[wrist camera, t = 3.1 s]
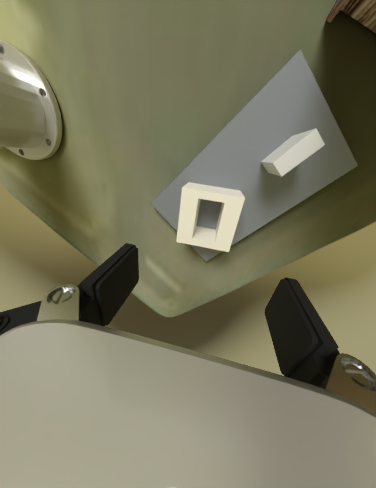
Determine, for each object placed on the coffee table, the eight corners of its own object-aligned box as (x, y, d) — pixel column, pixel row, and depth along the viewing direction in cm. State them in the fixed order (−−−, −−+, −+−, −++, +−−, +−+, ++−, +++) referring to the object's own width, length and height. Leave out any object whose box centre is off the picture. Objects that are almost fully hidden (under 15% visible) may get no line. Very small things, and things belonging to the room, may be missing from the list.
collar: (227, 237, 25) (228, 252, 21) (183, 228, 25) (176, 241, 21) (240, 190, 21) (245, 197, 17) (188, 182, 22) (182, 187, 18)
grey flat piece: (206, 257, 29) (203, 281, 23) (154, 201, 25) (135, 213, 20) (348, 165, 19) (402, 168, 14) (293, 58, 16) (334, 3, 10)
